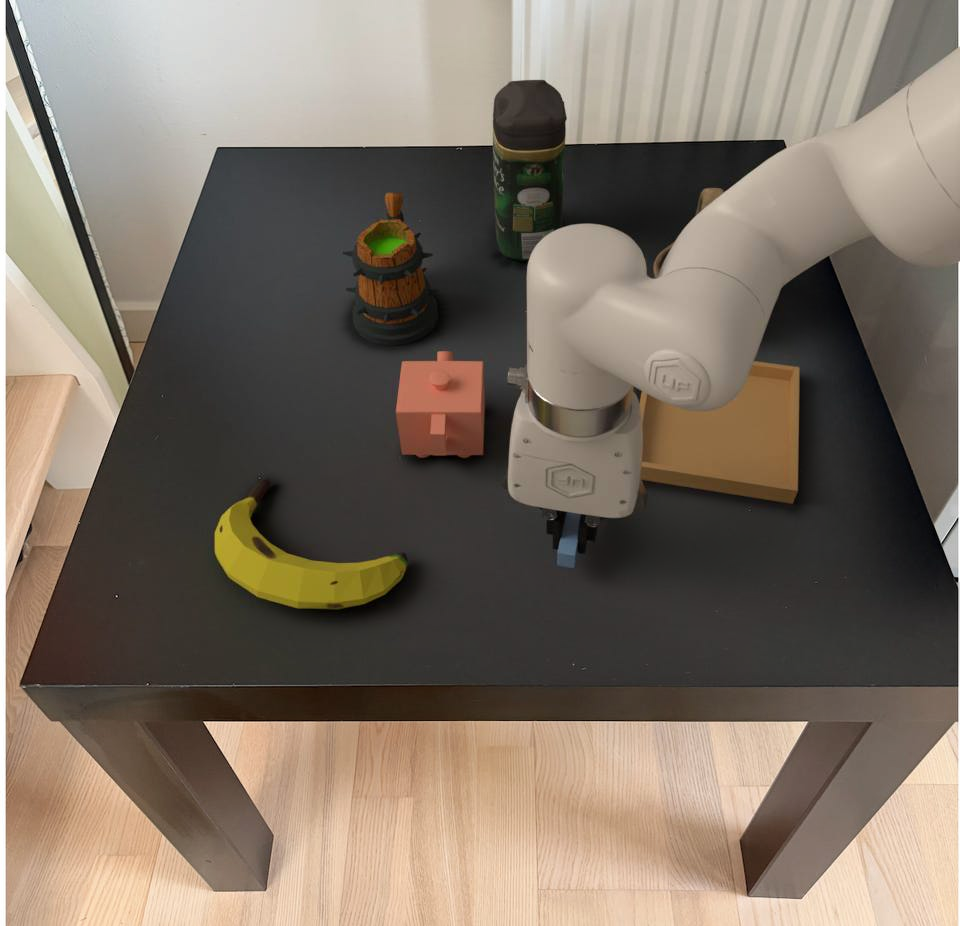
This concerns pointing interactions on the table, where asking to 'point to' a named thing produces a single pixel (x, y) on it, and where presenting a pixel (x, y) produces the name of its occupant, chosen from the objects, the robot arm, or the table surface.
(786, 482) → the tray
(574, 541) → the blue paddle
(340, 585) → the banana
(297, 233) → the table surface
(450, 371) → the pink cube teapot
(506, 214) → the coffee jar
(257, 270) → the table surface
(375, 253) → the mug
